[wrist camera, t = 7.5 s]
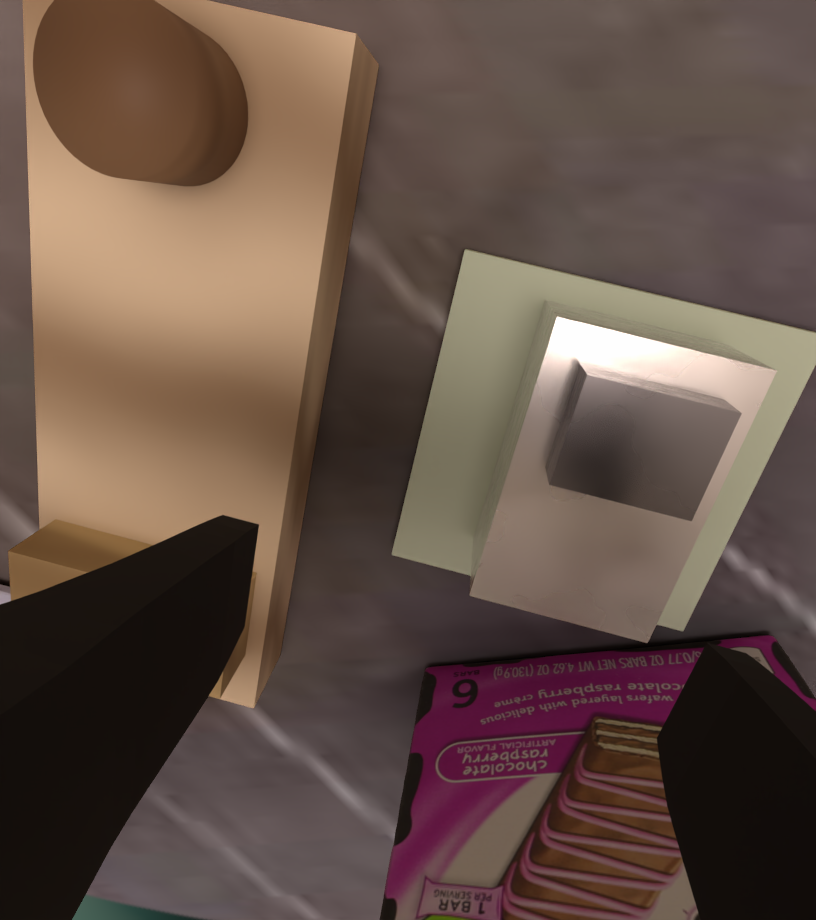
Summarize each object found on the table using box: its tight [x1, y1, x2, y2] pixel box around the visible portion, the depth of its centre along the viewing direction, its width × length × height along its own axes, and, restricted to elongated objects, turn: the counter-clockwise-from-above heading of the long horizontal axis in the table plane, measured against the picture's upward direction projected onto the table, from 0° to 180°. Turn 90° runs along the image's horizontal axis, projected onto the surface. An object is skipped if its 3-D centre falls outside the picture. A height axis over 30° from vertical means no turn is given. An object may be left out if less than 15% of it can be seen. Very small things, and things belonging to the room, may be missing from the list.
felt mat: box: [392, 249, 816, 631], centre depth 16 cm, size 9×9×1 cm
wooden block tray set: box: [8, 0, 379, 708], centre depth 15 cm, size 18×7×5 cm, turn 168°
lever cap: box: [469, 300, 777, 643], centre depth 14 cm, size 7×4×4 cm, turn 168°
